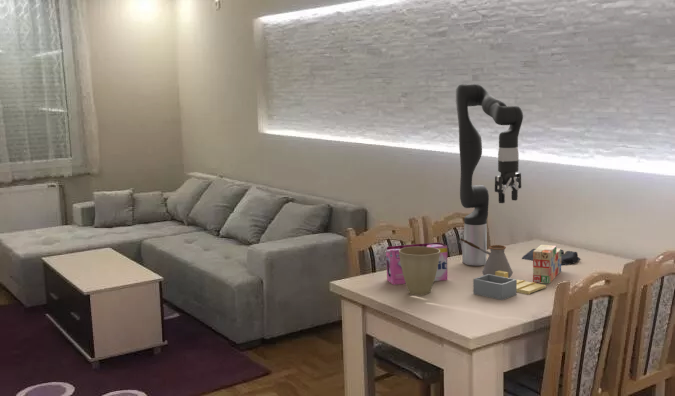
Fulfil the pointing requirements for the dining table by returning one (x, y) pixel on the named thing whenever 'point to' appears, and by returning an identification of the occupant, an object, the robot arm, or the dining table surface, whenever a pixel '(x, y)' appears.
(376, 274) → the dining table surface
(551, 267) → the stack of blocks
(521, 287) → the lid
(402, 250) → the plant pot
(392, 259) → the gum box
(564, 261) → the dark crumpled cloth
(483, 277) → the tub
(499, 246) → the coffee pot
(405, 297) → the dining table surface
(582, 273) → the dining table surface
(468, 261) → the robot arm
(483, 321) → the dining table surface
